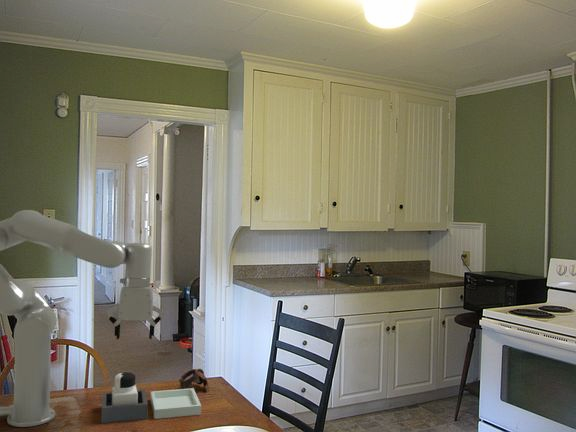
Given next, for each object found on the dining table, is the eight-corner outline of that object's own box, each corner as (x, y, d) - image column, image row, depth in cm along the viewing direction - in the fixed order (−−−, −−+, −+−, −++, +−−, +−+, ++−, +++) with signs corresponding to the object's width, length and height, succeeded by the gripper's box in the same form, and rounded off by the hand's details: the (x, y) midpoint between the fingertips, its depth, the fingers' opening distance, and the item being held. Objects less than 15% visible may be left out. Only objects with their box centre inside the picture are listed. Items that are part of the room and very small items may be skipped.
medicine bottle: (135, 407, 162) (136, 369, 162) (137, 416, 155) (138, 376, 155) (111, 409, 160) (112, 371, 159) (112, 418, 153) (113, 378, 153)
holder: (101, 423, 149) (101, 408, 149) (102, 407, 162) (102, 392, 161) (147, 419, 153) (147, 404, 153) (144, 403, 166) (145, 389, 166)
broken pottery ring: (208, 397, 175) (196, 377, 173) (184, 406, 176) (172, 387, 175) (215, 377, 186) (204, 358, 185) (193, 386, 188) (182, 368, 186)
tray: (154, 419, 154) (154, 409, 154) (150, 400, 169) (150, 391, 169) (200, 414, 158) (201, 405, 158) (193, 396, 173) (193, 388, 173)
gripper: (106, 284, 153) (103, 341, 153) (166, 285, 157) (163, 341, 157) (109, 280, 160) (106, 335, 160) (165, 281, 164) (163, 335, 164)
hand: (134, 338), depth 158 cm, fingers open, 9 cm apart
